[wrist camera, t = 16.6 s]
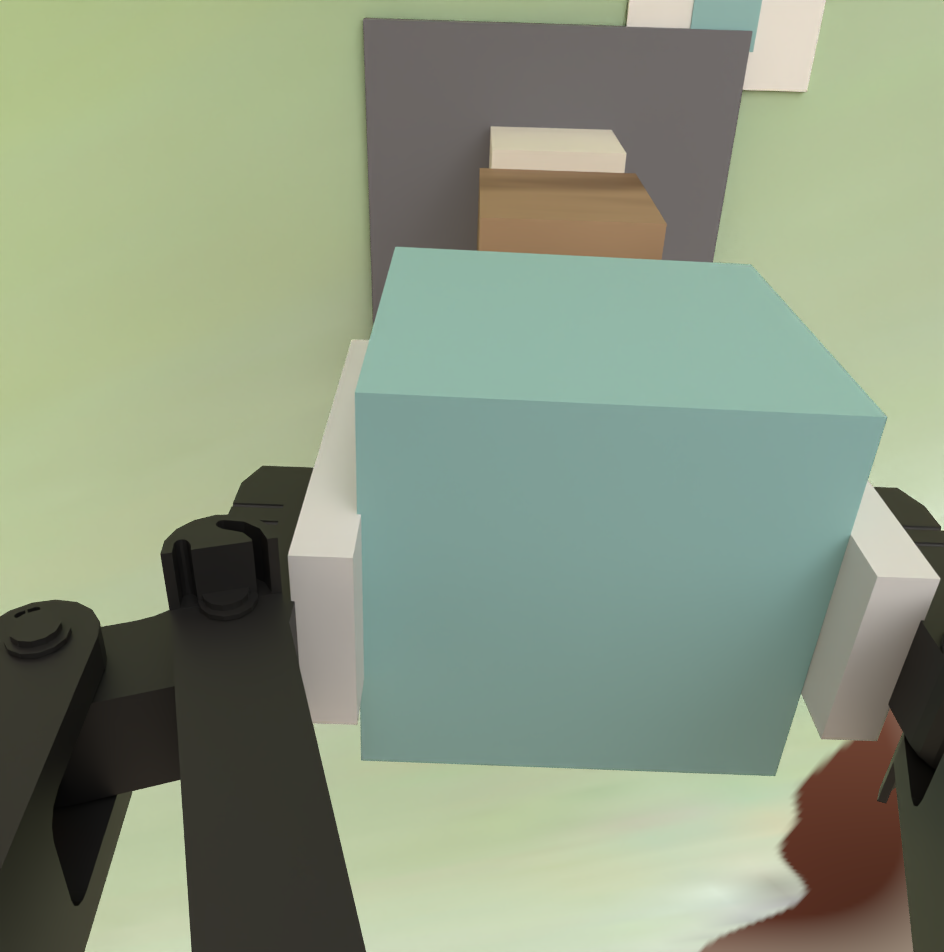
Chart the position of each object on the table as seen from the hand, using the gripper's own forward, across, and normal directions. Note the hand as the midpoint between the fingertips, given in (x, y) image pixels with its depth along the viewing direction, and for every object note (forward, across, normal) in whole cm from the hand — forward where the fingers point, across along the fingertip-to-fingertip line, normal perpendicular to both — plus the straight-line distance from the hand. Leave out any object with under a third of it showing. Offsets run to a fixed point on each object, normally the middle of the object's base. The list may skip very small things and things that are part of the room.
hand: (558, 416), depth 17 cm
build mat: (+22, +1, -2) cm, 22 cm away
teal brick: (0, 0, 0) cm, 0 cm away
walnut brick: (+17, +1, -2) cm, 17 cm away
